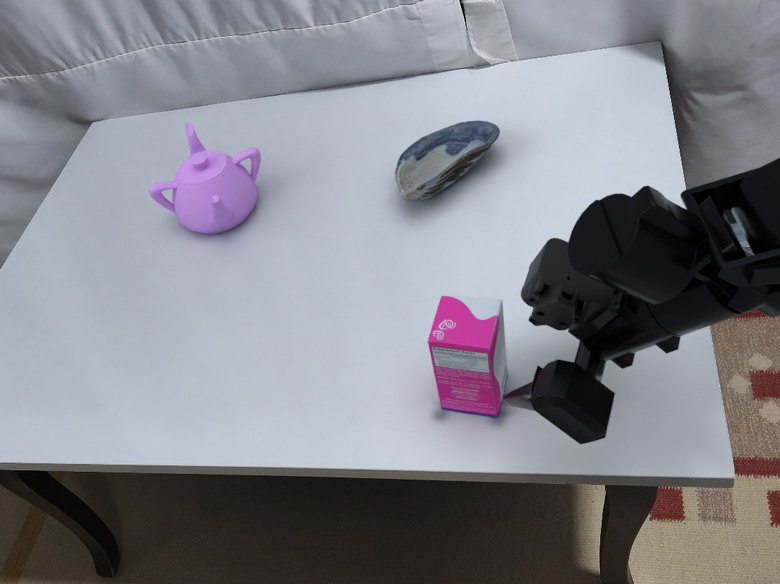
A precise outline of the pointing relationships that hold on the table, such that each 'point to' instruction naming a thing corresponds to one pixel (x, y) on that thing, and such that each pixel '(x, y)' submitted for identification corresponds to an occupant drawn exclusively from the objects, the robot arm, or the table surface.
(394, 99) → the table surface
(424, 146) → the seashell
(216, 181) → the teapot
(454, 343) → the supplement box
